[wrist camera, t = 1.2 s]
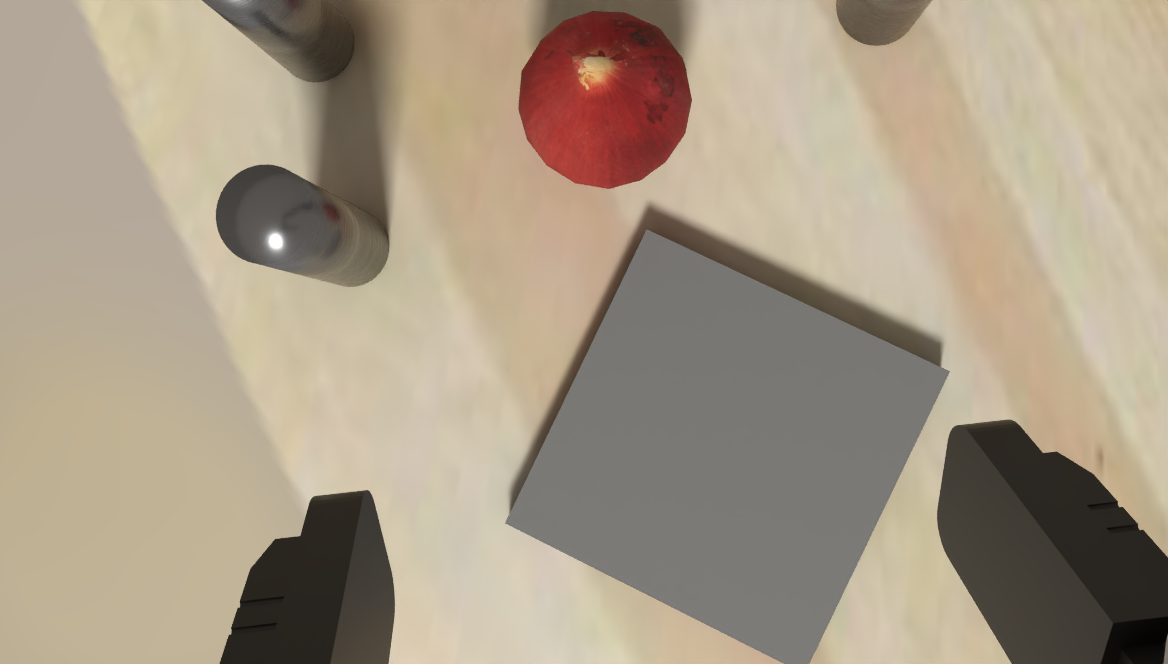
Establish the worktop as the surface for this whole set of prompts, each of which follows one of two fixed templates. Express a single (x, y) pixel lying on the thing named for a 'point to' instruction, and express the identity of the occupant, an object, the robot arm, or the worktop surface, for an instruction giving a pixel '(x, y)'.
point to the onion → (604, 99)
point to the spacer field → (322, 220)
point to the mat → (727, 449)
